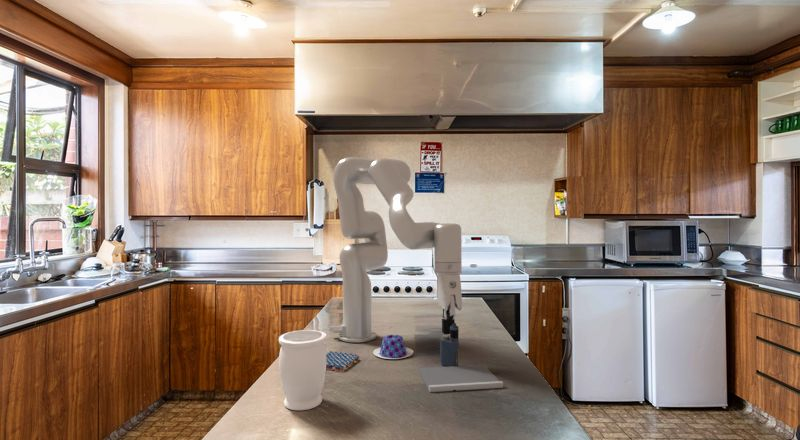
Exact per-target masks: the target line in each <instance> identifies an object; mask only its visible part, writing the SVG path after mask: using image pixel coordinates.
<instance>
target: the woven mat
mask: <svg viewBox="0 0 800 440" xmlns="http://www.w3.org/2000/svg"><path fill="white" fill-rule="evenodd" d="M360 360H361V359H360V356H359V355H357V354H355V353H354V354H352V353H349V354H348V353H347V352H344V353H343V352H339V353H338V352H337V351H335V352H334V351H332V350H331V351H330V350H329V352H326V371H335V372H341V373H344V372H345V371H346V370H349V368H351V367H352V366H353V365H354V364H356V363H358V362H359V361H360Z"/></svg>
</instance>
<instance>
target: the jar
mask: <svg viewBox="0 0 800 440" xmlns="http://www.w3.org/2000/svg"><path fill="white" fill-rule="evenodd" d="M326 339H327V334H326V333H325V332H324V331H321V330H315V329H314V330H313V329H300V330H293V331H288V332H286V333H283V334H281V335H280V336H278V343H279V345H280V350H279V353H278V354H279V356H278V373H279V379H280V384H281V390H282V392H283V394H284V396H285V399H284V400H283V405H284V407H285V408H287V409H289V410H291V411H308V410H311V409H314V408H316V407H319V406H320V405H321V404H322V402H323V397H322V395H321V394H322V391H323V388H324V384H325V379H326V378H325V376H326V371H327V369H326V355H327V350H326V345H325V341H326Z"/></svg>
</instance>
